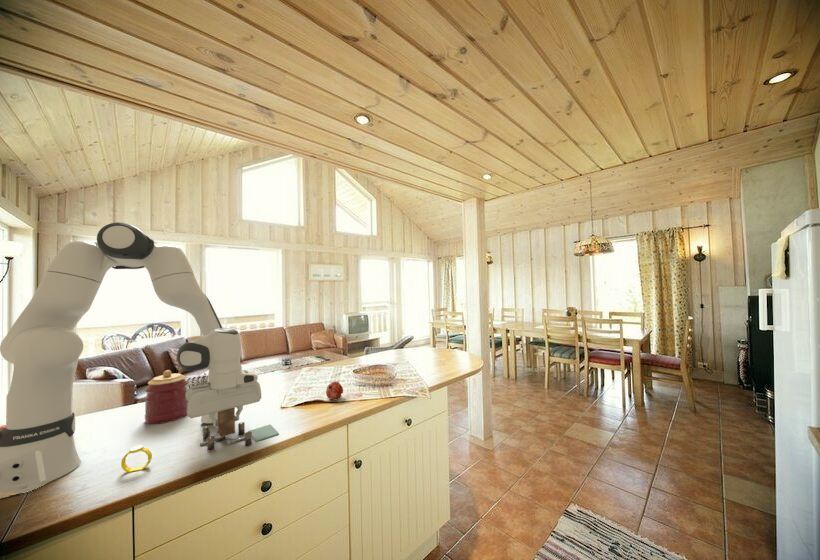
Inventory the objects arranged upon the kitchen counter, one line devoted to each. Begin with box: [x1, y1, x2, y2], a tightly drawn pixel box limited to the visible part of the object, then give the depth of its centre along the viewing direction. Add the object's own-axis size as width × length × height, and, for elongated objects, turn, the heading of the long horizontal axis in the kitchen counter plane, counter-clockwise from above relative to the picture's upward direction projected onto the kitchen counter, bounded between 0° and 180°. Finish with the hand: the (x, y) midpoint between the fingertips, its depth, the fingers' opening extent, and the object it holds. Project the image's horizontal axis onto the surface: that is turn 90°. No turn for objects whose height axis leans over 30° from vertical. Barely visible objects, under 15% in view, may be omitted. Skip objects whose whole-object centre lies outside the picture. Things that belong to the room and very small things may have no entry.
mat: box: [247, 424, 280, 443], centre depth 99 cm, size 7×9×1 cm
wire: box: [199, 435, 245, 447], centre depth 95 cm, size 13×6×1 cm, turn 131°
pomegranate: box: [325, 381, 344, 400], centre depth 130 cm, size 7×7×10 cm
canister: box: [144, 369, 190, 425], centre depth 114 cm, size 13×13×18 cm
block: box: [217, 408, 236, 438], centre depth 96 cm, size 4×4×8 cm
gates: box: [202, 421, 253, 451], centre depth 95 cm, size 11×16×4 cm
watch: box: [120, 444, 153, 473], centre depth 80 cm, size 6×3×6 cm, turn 113°
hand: (226, 423), depth 96 cm, fingers closed on block, 4 cm apart
